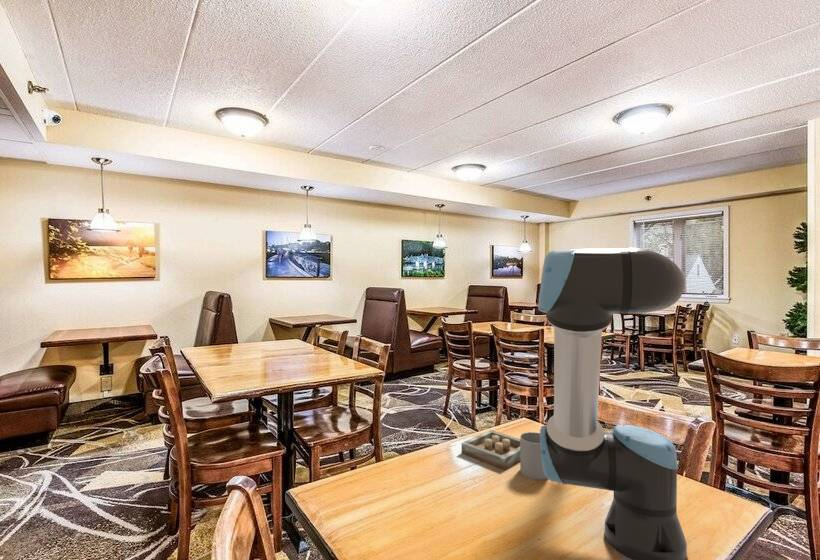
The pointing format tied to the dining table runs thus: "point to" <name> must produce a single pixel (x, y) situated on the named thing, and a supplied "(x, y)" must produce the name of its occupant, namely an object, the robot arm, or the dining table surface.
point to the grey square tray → (493, 449)
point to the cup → (531, 456)
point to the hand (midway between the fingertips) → (570, 401)
